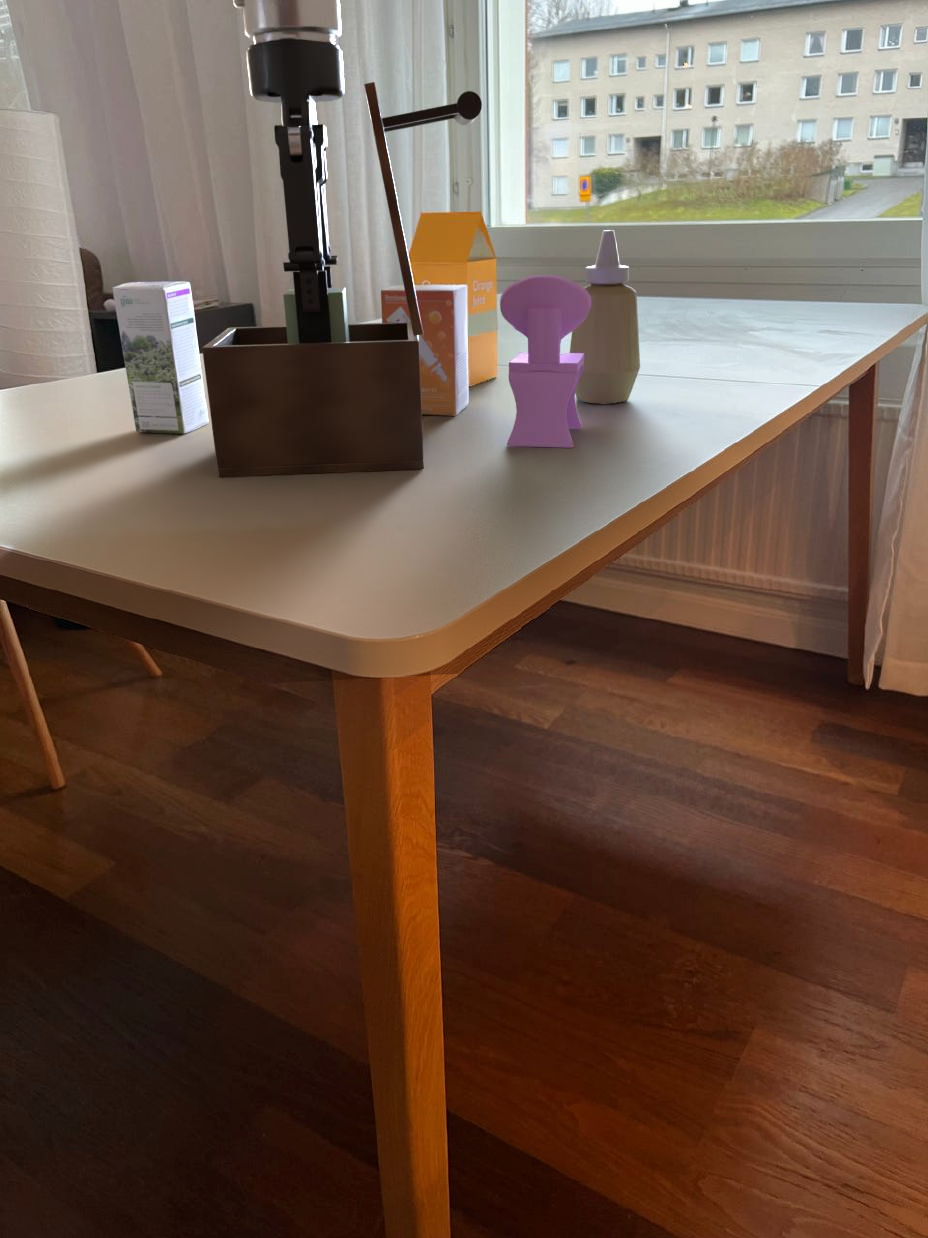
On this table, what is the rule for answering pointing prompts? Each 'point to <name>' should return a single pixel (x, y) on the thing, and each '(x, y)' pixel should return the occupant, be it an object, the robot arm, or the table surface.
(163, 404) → the syrup box
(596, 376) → the squeeze bottle
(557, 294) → the toy chair
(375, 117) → the lid
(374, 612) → the table surface
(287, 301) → the block
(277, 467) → the chest
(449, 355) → the small box
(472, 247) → the orange juice
